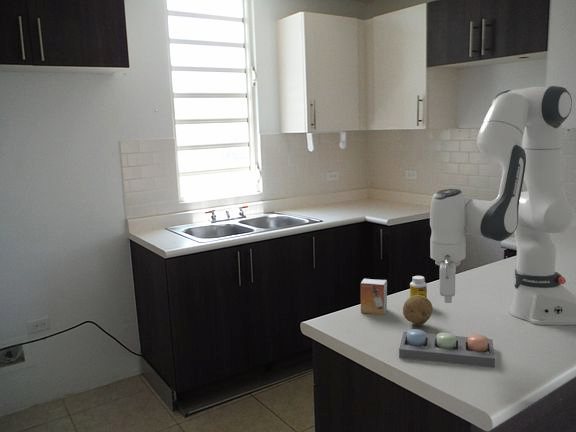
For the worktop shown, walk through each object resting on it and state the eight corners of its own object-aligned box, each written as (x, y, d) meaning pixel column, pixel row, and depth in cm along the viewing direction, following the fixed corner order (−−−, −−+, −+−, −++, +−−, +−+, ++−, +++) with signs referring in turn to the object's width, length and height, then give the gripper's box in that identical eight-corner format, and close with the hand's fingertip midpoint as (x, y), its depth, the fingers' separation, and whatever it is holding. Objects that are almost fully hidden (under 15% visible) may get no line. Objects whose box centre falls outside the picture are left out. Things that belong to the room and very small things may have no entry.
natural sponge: (427, 333, 151) (428, 302, 149) (398, 329, 155) (398, 298, 153) (435, 323, 158) (435, 292, 157) (407, 318, 163) (407, 289, 161)
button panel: (492, 347, 140) (492, 339, 139) (494, 367, 129) (495, 358, 128) (403, 339, 147) (403, 331, 147) (399, 357, 136) (399, 349, 136)
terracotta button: (487, 345, 137) (487, 335, 136) (488, 353, 132) (488, 342, 131) (467, 343, 138) (467, 333, 138) (467, 351, 134) (468, 341, 133)
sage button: (456, 343, 139) (456, 333, 139) (455, 351, 135) (456, 340, 134) (437, 342, 141) (437, 331, 140) (436, 349, 136) (436, 339, 136)
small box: (360, 312, 170) (359, 282, 168) (364, 307, 175) (363, 278, 173) (384, 315, 167) (384, 284, 165) (387, 309, 172) (387, 279, 170)
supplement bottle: (418, 310, 170) (418, 280, 168) (406, 305, 175) (406, 277, 173) (430, 306, 173) (430, 277, 171) (417, 301, 178) (417, 273, 176)
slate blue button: (426, 340, 142) (426, 330, 141) (424, 347, 137) (424, 337, 137) (407, 338, 143) (407, 328, 143) (406, 345, 139) (406, 335, 138)
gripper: (460, 262, 122) (460, 316, 125) (460, 242, 141) (460, 289, 144) (433, 261, 124) (434, 314, 127) (436, 242, 143) (437, 288, 146)
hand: (448, 301), depth 135 cm, fingers closed
